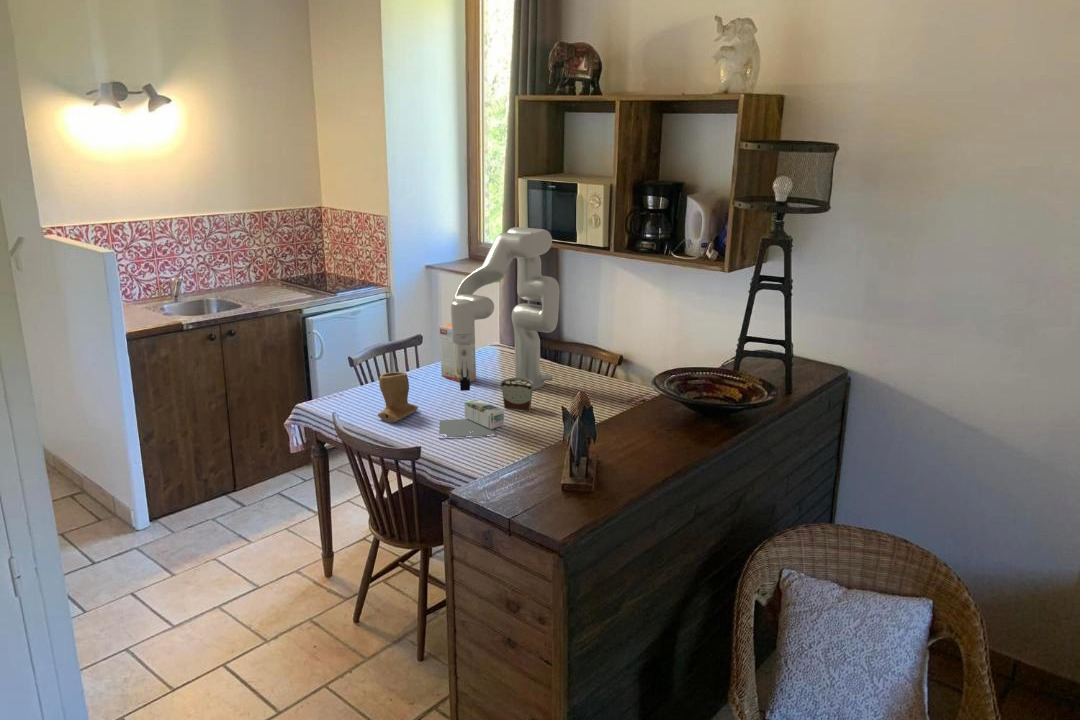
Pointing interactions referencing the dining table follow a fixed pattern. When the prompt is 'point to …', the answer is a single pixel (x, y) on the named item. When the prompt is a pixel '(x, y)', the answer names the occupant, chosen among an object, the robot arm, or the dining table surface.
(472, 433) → the mat
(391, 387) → the stone cup
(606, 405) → the dining table surface
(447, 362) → the cracker box
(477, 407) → the syrup box
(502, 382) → the food container
